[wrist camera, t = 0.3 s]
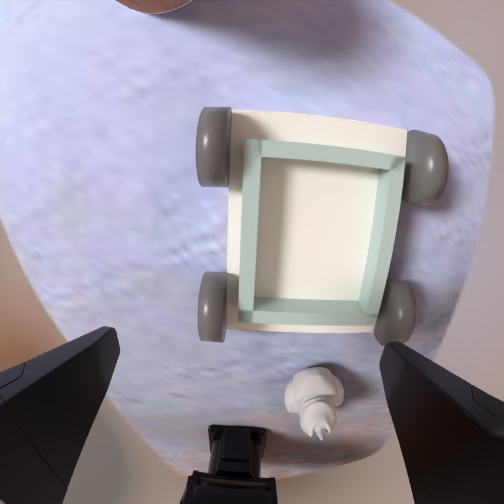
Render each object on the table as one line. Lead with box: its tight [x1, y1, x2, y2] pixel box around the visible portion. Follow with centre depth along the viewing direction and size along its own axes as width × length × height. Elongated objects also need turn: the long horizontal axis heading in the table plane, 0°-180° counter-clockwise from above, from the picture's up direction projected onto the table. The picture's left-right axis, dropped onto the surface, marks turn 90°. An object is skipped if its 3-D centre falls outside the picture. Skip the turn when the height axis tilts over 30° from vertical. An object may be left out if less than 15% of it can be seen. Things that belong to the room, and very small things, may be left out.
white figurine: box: [284, 367, 344, 441], centre depth 23 cm, size 5×7×8 cm
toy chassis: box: [196, 107, 448, 345], centre depth 19 cm, size 16×15×5 cm
